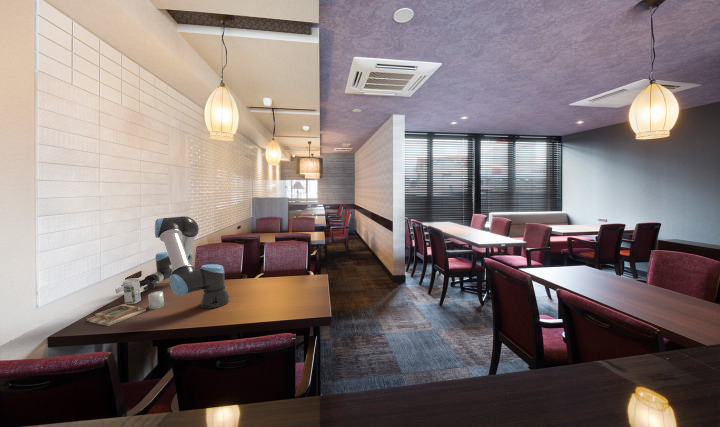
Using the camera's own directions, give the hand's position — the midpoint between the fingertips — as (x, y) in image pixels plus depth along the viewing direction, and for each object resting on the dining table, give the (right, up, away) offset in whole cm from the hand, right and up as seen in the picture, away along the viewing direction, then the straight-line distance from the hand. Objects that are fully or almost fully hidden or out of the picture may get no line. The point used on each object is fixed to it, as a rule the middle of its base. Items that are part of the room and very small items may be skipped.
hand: (127, 291), depth 167 cm
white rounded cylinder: (+20, -8, -3) cm, 22 cm away
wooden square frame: (+6, -10, -14) cm, 18 cm away
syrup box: (0, -8, +4) cm, 9 cm away
